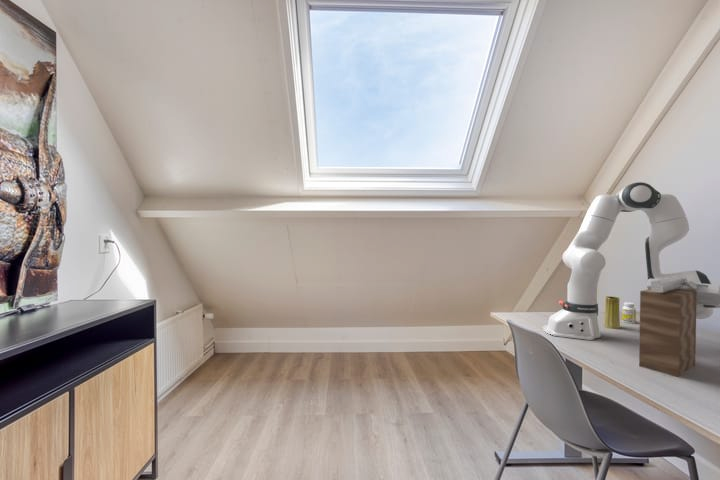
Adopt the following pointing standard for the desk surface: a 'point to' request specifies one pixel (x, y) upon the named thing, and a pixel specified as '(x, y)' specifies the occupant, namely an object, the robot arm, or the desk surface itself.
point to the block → (667, 284)
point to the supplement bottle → (628, 313)
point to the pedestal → (668, 330)
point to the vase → (612, 313)
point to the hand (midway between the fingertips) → (677, 280)
